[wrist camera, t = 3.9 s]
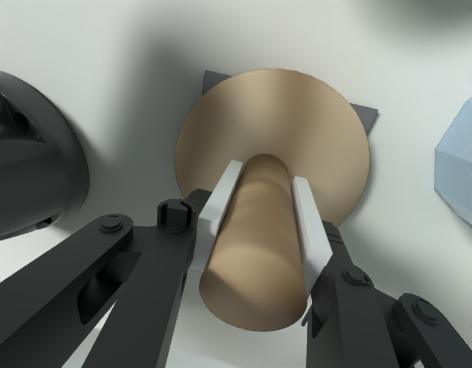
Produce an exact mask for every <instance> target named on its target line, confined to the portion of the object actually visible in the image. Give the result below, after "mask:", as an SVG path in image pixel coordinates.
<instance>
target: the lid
mask: <svg viewBox="0 0 472 368" xmlns="http://www.w3.org/2000/svg"><path fill="white" fill-rule="evenodd" d="M231 160H235V161H239V162H243V165H242V169H241V173H240V178H239V180H238V183H237V185H236V188H235V191H234V193H233V196H232V199H231V201H230V204H229V206H228V209H227V212H226V214H225V217H224V220H223V222H222V225H221V227H220V230H219V233H218V235H217V238H216V241H215V243H214V245H213V248H212V250H211V253H210V256H209V258H208V261H207V263H206V266H205V269H204V271H203V274H202V276H201V279H200V284H199V290H200V295H201V298H202V300H203V302H204V304H205V305H206V306H207V308H208V309H209V310H210V311H211V312H212V313H213V314H214V315H215V316H217V317H218V318H219V319H221V320H222V321H224V322H226V323H228V324H230V325H233V326H235V327H238V328H241V329H245V330H250V331H259V332H267V331H275V330H280V329H283V328H286V327H289V326H290V325H292V324H294V323H295V322H297V321H298V320H299V319H300V318H301V317H302V315H303V314H304V312H305V310H306V307H307V293H306V287H305V280H304V274H303V267H302V261H301V254H300V248H299V241H298V235H297V228H296V222H295V215H294V209H293V202H292V196H291V189H290V188H291V185H292V182H293V179H294V177H295V176H298V177H302V178H306V179H307V181H308V184H309V187H310V189H311V192H312V195H313V198H314V201H315V204H316V207H317V210H318V213H319V215H320V218H321V220H324V221H327V222H331V223H332V224H333V225H334V226H335V227H337V226H339V225H340V224H341V223H342V222H343V221H344V220H345V219H346V218H347V217H348V215H349V214H350V213H351V212H352V211H353V209H354V208H355V206H356V204H357V203H358V201H359V200H360V197H361V195H362V193H363V191H364V188H365V185H366V182H367V178H368V173H369V165H370V154H369V146H368V140H367V136H366V133H365V130H364V127H363V125H362V123H361V121H360V119H359V117H358V115H357V113H356V112H355V111H354V109H353V108H352V107H351V105H350V104H349V103H348V101H347V100H346V99H345V98H344V97H342V96H341V95H340V94H339V93H338V92H337V91H336V90H335V89H333V88H332V87H330V86H329V85H327V84H326V83H324V82H323V81H320V80H318V79H316V78H314V77H312V76H310V75H307V74H303V73H300V72H297V71H292V70H285V69H260V70H253V71H248V72H245V73H241V74H238V75H235V76H233V77H231V78H229V79H226V80H224V81H222V82H221V83H219V84H218V85H216V86H215V87H213V88H211V89H210V90H209V91H208V92H207V93H206V94H204V95H203V96H202V97H201V98H200V99H199V100H198V101H197V103H196V104H195V105H194V106H193V107H192V108H191V110H190V112H189V113H188V115H187V116H186V118H185V120H184V122H183V124H182V127H181V129H180V131H179V135H178V138H177V142H176V149H175V170H176V177H177V181H178V185H179V188H180V190H181V193H182V195H183V197H184V199H186V198H187V197H188V195H189V194H190V193H191V192H192V191H194V190H196V189H198V188H200V189H203V190H207V191H211V192H213V191H214V189H215V187H216V186H217V184H218V182H219V180H220V179H221V177H222V175H223V174H224V172H225V170H226V168H227V167H228V165H229V163H230V162H231Z"/></svg>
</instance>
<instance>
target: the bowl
mask: <svg viewBox="0 0 472 368" xmlns="http://www.w3.org/2000/svg"><path fill="white" fill-rule="evenodd" d="M435 150H436V151H435V188H434V189H435V190H436V191H437V192H438V193H439V195H440V196H441V197H442V198H443V199H444V200H445V201H446V202H447V204H448V205H449V206H450V207H451V208H452V209H453V210H454V212H455V213H456V214H457V215H458V216H459V217H460V218H462V219H463V220H465V221H466V222H467V223H469V224H470V225H472V98H470V99H469V100H467V101H466V103H465V105H464V106H463V108H462V109H461V111H460V112H459V114H458V115H457V117H456V118H455V120H454V122H453V123H452V125H451V126H450V128H449V129H448V131H447V132H446V134H445V135H444V137H443V138H442V140H441V141H440V143H439V144H438V146H437V148H436V149H435Z"/></svg>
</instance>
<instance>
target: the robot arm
mask: <svg viewBox="0 0 472 368" xmlns="http://www.w3.org/2000/svg"><path fill="white" fill-rule="evenodd" d="M242 165H243V162H239V161H235V160H231V162H230V163H229V165H228V167H227V168H226V170H225V172H224V174H223V175H222V177H221V179H220V180H219V182H218V184H217V186H216V187H215V189H214V191H213V192H211V191H207V190H203V189H200V188H198V189H196V190H194V191H192V192H191V193H190V194H189V195H188V197H187V198H186V199H185V200H182V199H170V200H166V201H164V202H161V203H160V204H159V205H158V213H157V226H153V227H142V226H133V221H132V220H131V218H129V217H128V216H126V215H121V214H109V215H105V216H101V217H99V218H97V219H95V220H94V221H92V222H91V223H89V224H88V225H86V226H85V227H83V228H82V229H80V230H79V231H77V232H76V233H74V234H73V235H71V236H70V237H68V238H67V239H65V240H64V241H62V242H61V243H59V244H58V245H56V246H55V247H53V248H52V249H50V250H49V251H47V252H46V253H44V254H43V255H41V256H40V257H38V258H37V259H35V260H34V261H32V262H31V263H29V264H28V265H26V266H25V267H23V268H22V269H20V270H19V271H17V272H16V273H14V274H13V275H11V276H10V277H8V278H7V279H5V280H3V281H2V282H0V368H61V367H62V366H63V365H64V364H65V362H66V361H67V360H68V359H69V357H70V356H71V355H72V353H74V351H75V350H76V349H77V348H78V346H79V345H80V344H81V343H82V342H83V340H84V339H85V338H86V337H87V335H88V334H89V333H90V332H91V331H92V330H93V328H94V327H95V326H96V325H97V324H98V322H99V321H100V320H101V319H102V317H103V316H104V315H105V314H106V313H107V311H108V310H109V309H110V308H111V307H112V305H113V304H114V303H115V302H116V303H115V305H114V307H113V309H112V311H111V313H110V314H109V316H108V318H107V320H106V322H105V324H104V326H103V328H102V330H101V331H100V333H99V335H98V337H97V339H96V341H95V343H94V345H93V347H92V349H91V351H90V352H89V354H88V356H87V358H86V360H85V362H84V364H83V365H82V367H81V368H165V365H166V361H167V357H168V353H169V349H170V345H171V341H172V336H173V332H174V328H175V324H176V320H177V316H178V312H179V307H180V303H181V299H182V295H183V291H184V287H185V283H186V279H187V271H188V269H189V267H190V265H191V270H194V271H198V272H201V273H203V271H204V269H205V266H206V263H207V261H208V258H209V256H210V253H211V250H212V248H213V245H214V243H215V241H216V238H217V235H218V233H219V230H220V227H221V225H222V222H223V220H224V217H225V214H226V212H227V209H228V206H229V204H230V201H231V199H232V196H233V193H234V191H235V188H236V185H237V183H238V180H239V178H240V173H241V169H242ZM290 189H291V196H292V202H293V209H294V215H295V222H296V228H297V235H298V241H299V248H300V254H301V261H302V267H303V274H304V280H305V287H306V293H307V299H308V297H309V295H310V293H311V298H312V305H311V307H310V308H309V310H308V312H307V314H306V315H305V317H304V319H303V320H302V324H301V326H303V327H304V326H305V324H306V322H307V321H308V325H307V357H306V368H415V367H414V365H415V364H416V363H417V362H419V361H420V360H421V362H422V364H423V365H424V367H425V368H472V350H471V349H470V348H469V346H468V345H467V344H466V343H465V341H464V340H463V339H462V338H461V336H460V335H459V334H458V333H457V331H456V330H455V329H454V328H453V326H452V325H451V324H450V323H449V321H448V320H447V319H446V317H445V316H444V315H443V314H442V313H441V312H440V311H439V310H438V309H437V308H436V307H434V306H433V305H432V304H431V303H429V302H428V301H426V300H424V299H423V298H421V297H419V296H416V295H413V294H408V293H404V294H403V295H402V296H400V298H399V299H398V300H396V299H394V298H392V297H390V296H388V295H386V294H384V293H382V292H380V291H379V290H377V289H375V288H374V285H373V283H372V281H371V279H370V278H369V276H368V275H367V274H366V273H365V272H364V271H362V270H361V269H360V268H358V267H357V266H355V265H353V263H352V261H351V258H350V256H349V254H348V251H347V249H346V247H345V245H344V242H343V240H342V239H341V236H340V233H339V231H338V229H337V228H336V227H335V226H334V225H333V224H332V223H331V222H327V221H324V220H321V218H320V215H319V213H318V210H317V207H316V204H315V201H314V198H313V195H312V192H311V189H310V187H309V184H308V181H307V179H306V178H302V177H298V176H295V177H294V179H293V182H292V185H291V188H290ZM87 191H88V170H87V165H86V161H85V157H84V154H83V152H82V149H81V147H80V145H79V143H78V141H77V139H76V137H75V135H74V133H73V132H72V130H71V128H70V127H69V125H68V124H67V123H66V121H65V120H64V118H63V117H62V116H61V115H60V113H59V112H58V111H57V110H56V109H55V108H54V107H53V106H52V105H51V104H50V103H49V102H48V101H47V100H46V99H45V98H44V97H43V96H42V95H41V94H40V93H38V92H37V91H36V90H35V89H33V88H32V87H30V86H29V85H28V84H26V83H24V82H23V81H21V80H20V79H18V78H16V77H14V76H12V75H10V74H7V73H5V72H2V71H0V241H2V240H5V239H9V238H12V237H15V236H19V235H22V234H25V233H29V232H32V231H35V230H38V229H42V228H46V227H49V226H51V225H53V224H56V223H57V222H59V221H61V220H62V219H64V218H66V217H67V216H69V215H70V214H72V213H74V212H75V211H76V210H77V209H78V208H79V207H80V206H81V205H82V204H83V202H84V200H85V198H86V195H87ZM191 262H192V263H191ZM116 300H117V301H116Z"/></svg>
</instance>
